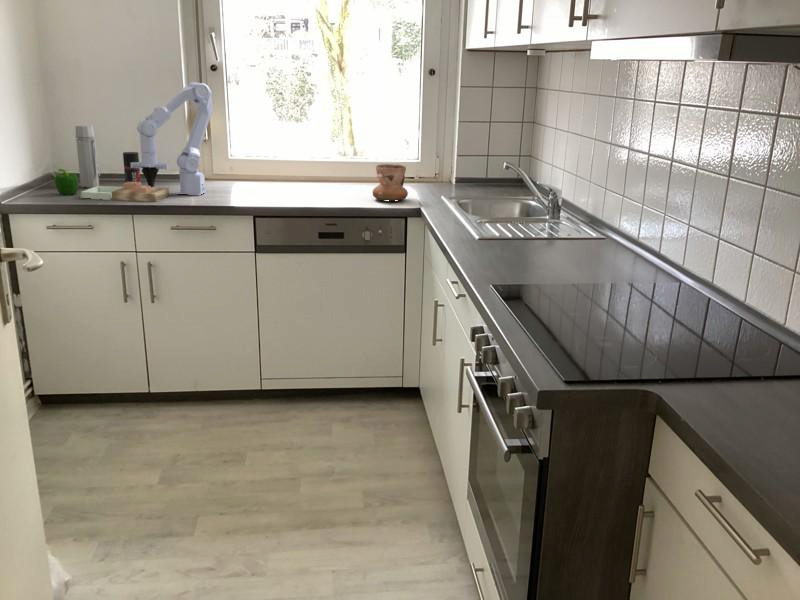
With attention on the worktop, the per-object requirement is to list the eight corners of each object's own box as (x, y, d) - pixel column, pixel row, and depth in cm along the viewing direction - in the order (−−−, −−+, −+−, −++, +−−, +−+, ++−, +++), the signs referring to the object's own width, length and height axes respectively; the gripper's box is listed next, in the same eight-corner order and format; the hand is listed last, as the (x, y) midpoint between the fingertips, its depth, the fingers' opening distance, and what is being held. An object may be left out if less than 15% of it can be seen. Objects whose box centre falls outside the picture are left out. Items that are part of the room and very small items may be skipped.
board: (168, 195, 285) (168, 188, 284) (155, 201, 272) (155, 194, 271) (127, 193, 285) (126, 186, 284) (112, 199, 272) (111, 191, 271)
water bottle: (76, 187, 294) (69, 125, 286) (89, 184, 301) (83, 124, 294) (94, 189, 292) (88, 127, 284) (107, 186, 299) (102, 125, 291)
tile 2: (150, 190, 276) (150, 185, 276) (146, 193, 272) (145, 187, 271) (138, 190, 277) (137, 185, 276) (133, 192, 272) (132, 187, 271)
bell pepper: (84, 193, 283) (81, 167, 280) (73, 196, 275) (70, 170, 272) (64, 192, 284) (61, 166, 281) (52, 195, 276) (49, 169, 273)
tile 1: (141, 187, 283) (141, 182, 283) (136, 189, 279) (136, 184, 278) (129, 186, 284) (128, 181, 283) (124, 188, 279) (123, 183, 278)
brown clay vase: (391, 205, 282) (392, 169, 278) (363, 200, 290) (364, 165, 286) (417, 200, 296) (419, 165, 292) (389, 195, 304) (390, 162, 300)
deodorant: (131, 191, 291) (128, 154, 286) (123, 189, 294) (119, 152, 290) (144, 189, 296) (141, 153, 291) (135, 187, 299) (132, 151, 294)
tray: (126, 193, 286) (125, 187, 285) (110, 199, 272) (109, 193, 271) (98, 192, 286) (97, 185, 286) (80, 198, 272) (79, 192, 271)
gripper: (126, 152, 273) (129, 187, 277) (163, 153, 272) (165, 189, 276) (133, 150, 279) (136, 184, 284) (170, 151, 279) (172, 186, 283)
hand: (151, 186), depth 281 cm, fingers closed
